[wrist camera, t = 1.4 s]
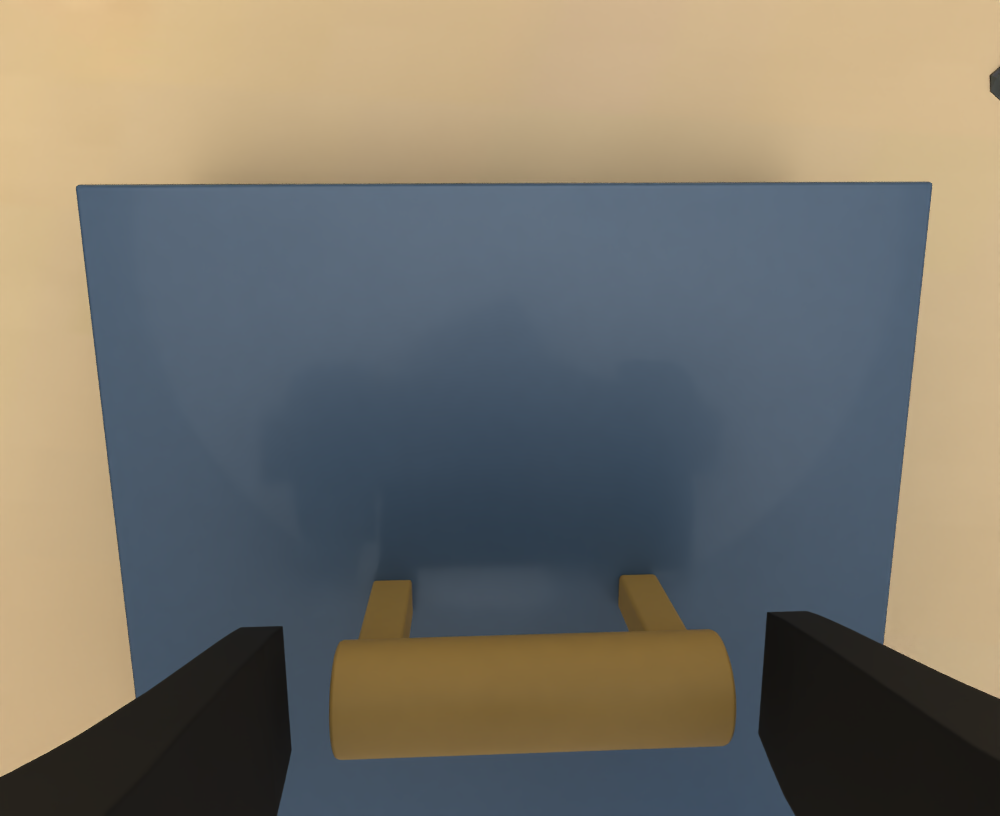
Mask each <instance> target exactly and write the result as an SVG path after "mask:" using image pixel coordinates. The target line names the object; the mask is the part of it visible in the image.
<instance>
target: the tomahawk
mask: <svg viewBox="0 0 1000 816" xmlns="http://www.w3.org/2000/svg"><path fill="white" fill-rule="evenodd" d="M990 92H992V93H993V94H994V95H995V96H996V97H997V98H998V99H999V100H1000V67H999V68H998V69H997V70H996V71H994V72H993V73H992V74H991V75H990Z"/></svg>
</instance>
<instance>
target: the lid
mask: <svg viewBox="0 0 1000 816" xmlns="http://www.w3.org/2000/svg"><path fill="white" fill-rule="evenodd" d="M931 192H932V183H930V182H702V183H416V184H130V185H78V186H76V193H77V201H78V210H79V218H80V227H81V235H82V244H83V252H84V261H85V269H86V278H87V286H88V295H89V303H90V312H91V320H92V329H93V337H94V346H95V355H96V363H97V372H98V380H99V389H100V397H101V406H102V414H103V423H104V431H105V440H106V448H107V457H108V465H109V474H110V482H111V491H112V499H113V508H114V516H115V525H116V533H117V542H118V550H119V559H120V567H121V576H122V584H123V593H124V601H125V610H126V618H127V627H128V635H129V644H130V652H131V661H132V669H133V678H134V686H135V695H136V698H138V697H139V696H141V695H142V694H144V693H145V692H147V691H148V690H150V689H151V688H153V687H154V686H156V685H157V684H158V683H160V682H161V681H163V680H164V679H166V678H167V677H168V676H170V675H171V674H173V673H174V672H176V671H177V670H178V669H180V668H181V667H183V666H184V665H185V664H187V663H188V662H190V661H191V660H193V659H194V658H195V657H197V656H198V655H199V654H201V653H202V652H204V651H205V650H207V649H208V648H209V647H211V646H212V645H214V644H215V643H216V642H218V641H219V640H221V639H222V638H224V637H225V636H227V635H228V634H230V633H231V632H233V631H235V630H237V629H238V628H240V627H265V626H283V636H284V650H285V664H286V678H287V692H288V706H289V720H290V733H291V747H292V751H291V756H290V761H289V765H288V770H287V775H286V779H285V784H284V788H283V792H282V797H281V801H280V805H279V809H278V814H277V816H795V815H794V813H793V811H792V809H791V808H790V806H789V804H788V802H787V800H786V799H785V797H784V795H783V793H782V790H781V788H780V786H779V783H778V781H777V779H776V776H775V774H774V772H773V769H772V767H771V765H770V762H769V760H768V757H767V755H766V752H765V749H764V747H763V744H762V742H761V739H760V737H759V734H758V729H759V715H760V701H761V687H762V673H763V660H764V646H765V632H766V618H767V612H785V611H809V612H812V613H815V614H818V615H820V616H823V617H825V618H828V619H830V620H832V621H835V622H837V623H839V624H841V625H843V626H845V627H847V628H850V629H852V630H854V631H856V632H858V633H860V634H862V635H864V636H866V637H868V638H870V639H872V640H874V641H876V642H878V643H880V644H882V645H883V643H884V633H885V624H886V614H887V605H888V596H889V586H890V577H891V568H892V558H893V549H894V539H895V530H896V521H897V511H898V502H899V492H900V483H901V474H902V464H903V455H904V446H905V436H906V427H907V417H908V408H909V399H910V389H911V380H912V370H913V361H914V352H915V342H916V333H917V323H918V314H919V305H920V295H921V286H922V277H923V267H924V258H925V248H926V239H927V230H928V220H929V211H930V201H931Z"/></svg>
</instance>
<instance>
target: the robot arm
mask: <svg viewBox="0 0 1000 816" xmlns="http://www.w3.org/2000/svg"><path fill="white" fill-rule="evenodd" d="M758 734H759V737H760V739H761V742H762V744H763V747H764V749H765V752H766V755H767V757H768V760H769V762H770V765H771V767H772V769H773V772H774V774H775V776H776V779H777V781H778V783H779V786H780V788H781V790H782V793H783V795H784V797H785V799H786V800H787V802H788V804H789V806H790V808H791V809H792V811H793V813H794V815H795V816H1000V699H998V698H996V697H994V696H992V695H989V694H987V693H985V692H982V691H980V690H978V689H975V688H973V687H971V686H969V685H966V684H964V683H962V682H960V681H957V680H955V679H953V678H951V677H949V676H947V675H944V674H942V673H940V672H938V671H936V670H934V669H932V668H930V667H928V666H925V665H923V664H921V663H919V662H917V661H915V660H913V659H911V658H909V657H907V656H905V655H903V654H901V653H899V652H897V651H895V650H893V649H891V648H889V647H887V646H884V645H882V644H880V643H878V642H876V641H874V640H872V639H870V638H868V637H866V636H864V635H862V634H860V633H858V632H856V631H854V630H852V629H850V628H847V627H845V626H843V625H841V624H839V623H837V622H835V621H832V620H830V619H828V618H825V617H823V616H820V615H818V614H815V613H812V612H809V611H785V612H767V618H766V632H765V646H764V660H763V673H762V687H761V701H760V715H759V729H758ZM291 751H292V747H291V733H290V720H289V706H288V692H287V678H286V664H285V650H284V636H283V626H265V627H240V628H238V629H237V630H235V631H233V632H231V633H230V634H228V635H227V636H225V637H224V638H222V639H221V640H219V641H218V642H216V643H215V644H214V645H212V646H211V647H209V648H208V649H207V650H205V651H204V652H202V653H201V654H199V655H198V656H197V657H195V658H194V659H193V660H191V661H190V662H188V663H187V664H185V665H184V666H183V667H181V668H180V669H178V670H177V671H176V672H174V673H173V674H171V675H170V676H168V677H167V678H166V679H164V680H163V681H161V682H160V683H158V684H157V685H156V686H154V687H153V688H151V689H150V690H148V691H147V692H145V693H144V694H142V695H141V696H139V697H138V698H136V699H135V700H133V701H131V702H130V703H128V704H127V705H125V706H124V707H122V708H121V709H119V710H117V711H116V712H114V713H113V714H111V715H110V716H108V717H107V718H105V719H103V720H102V721H100V722H99V723H97V724H96V725H94V726H92V727H91V728H89V729H88V730H86V731H84V732H83V733H81V734H79V735H78V736H76V737H74V738H73V739H71V740H69V741H67V742H66V743H64V744H62V745H60V746H59V747H57V748H55V749H53V750H51V751H50V752H48V753H46V754H44V755H42V756H40V757H38V758H36V759H35V760H33V761H31V762H29V763H27V764H25V765H23V766H21V767H19V768H17V769H16V770H14V771H12V772H10V773H8V774H6V775H4V776H2V777H0V816H277V814H278V809H279V805H280V801H281V797H282V792H283V788H284V784H285V779H286V775H287V770H288V765H289V761H290V756H291Z"/></svg>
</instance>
